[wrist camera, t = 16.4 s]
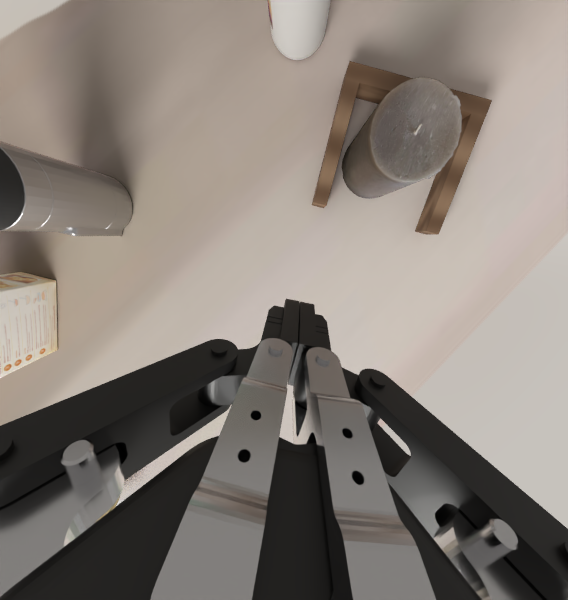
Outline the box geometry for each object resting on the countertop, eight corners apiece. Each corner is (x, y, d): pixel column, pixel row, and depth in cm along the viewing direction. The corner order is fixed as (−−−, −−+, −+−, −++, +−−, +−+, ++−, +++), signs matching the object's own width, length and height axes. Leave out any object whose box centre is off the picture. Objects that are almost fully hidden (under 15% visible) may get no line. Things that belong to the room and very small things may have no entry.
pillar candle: (329, 164, 38) (352, 124, 24) (379, 115, 36) (437, 39, 22) (366, 212, 40) (409, 201, 26) (416, 167, 38) (492, 129, 24)
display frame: (426, 234, 41) (438, 234, 37) (311, 205, 40) (313, 202, 37) (473, 112, 36) (491, 100, 33) (344, 77, 35) (349, 61, 32)
